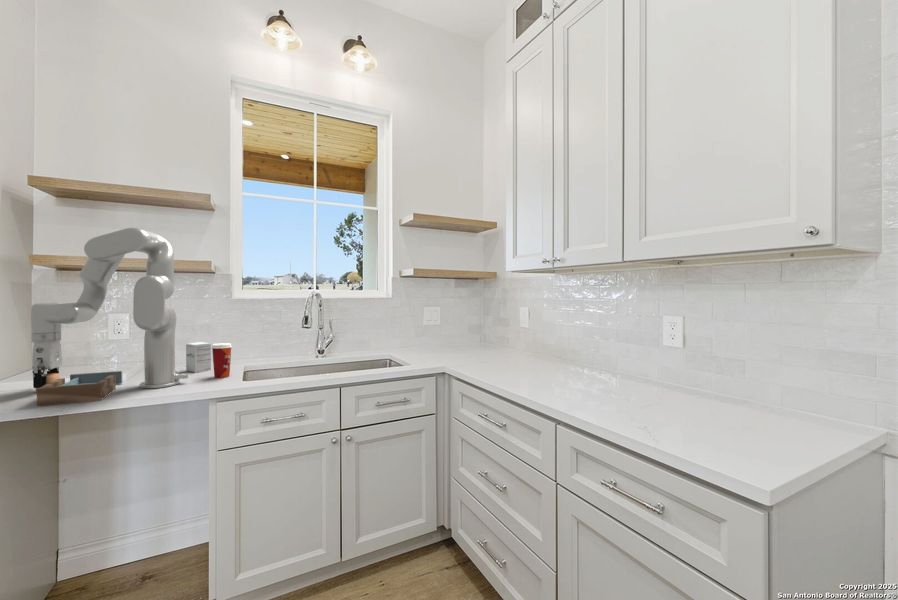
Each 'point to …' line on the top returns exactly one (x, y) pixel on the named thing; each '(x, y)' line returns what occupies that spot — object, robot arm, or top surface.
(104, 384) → the brown wooden open box
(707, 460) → the top surface
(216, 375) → the paper cup
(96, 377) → the tray
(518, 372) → the top surface
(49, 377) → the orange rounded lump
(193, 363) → the supplement box
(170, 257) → the robot arm
